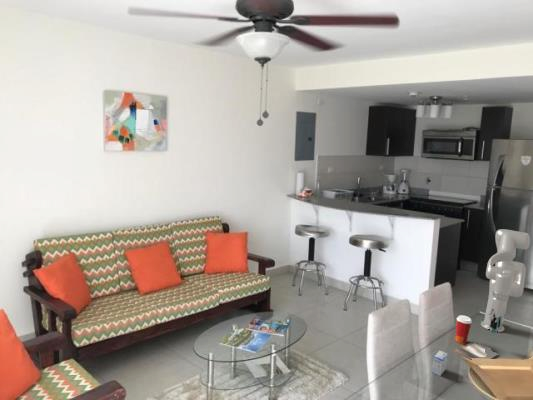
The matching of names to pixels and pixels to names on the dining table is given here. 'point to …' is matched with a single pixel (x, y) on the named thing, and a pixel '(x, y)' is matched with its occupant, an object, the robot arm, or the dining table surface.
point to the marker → (497, 326)
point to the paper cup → (462, 329)
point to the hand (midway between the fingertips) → (494, 326)
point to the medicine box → (439, 363)
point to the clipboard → (473, 350)
